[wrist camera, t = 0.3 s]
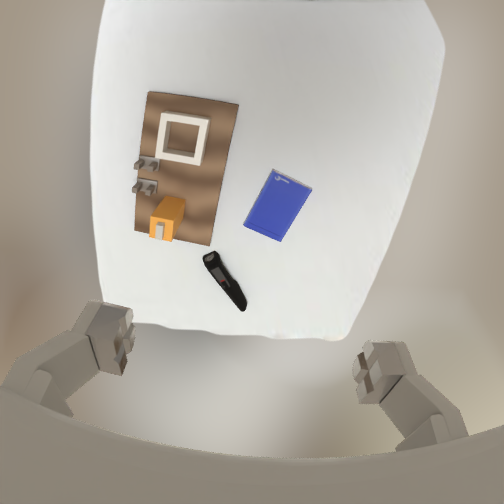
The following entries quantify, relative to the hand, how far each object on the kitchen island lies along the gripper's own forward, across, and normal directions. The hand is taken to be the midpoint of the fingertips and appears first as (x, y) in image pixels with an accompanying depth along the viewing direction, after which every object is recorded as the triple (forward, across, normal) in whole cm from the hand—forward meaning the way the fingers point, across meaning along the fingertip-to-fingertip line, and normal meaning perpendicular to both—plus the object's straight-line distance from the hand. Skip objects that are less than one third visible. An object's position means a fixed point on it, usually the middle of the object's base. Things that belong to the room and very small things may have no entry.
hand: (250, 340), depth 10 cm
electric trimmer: (+48, +1, +33) cm, 58 cm away
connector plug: (+46, +13, +17) cm, 51 cm away
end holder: (+46, +12, +3) cm, 47 cm away
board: (+47, +13, +10) cm, 50 cm away
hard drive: (+48, -6, +14) cm, 50 cm away
